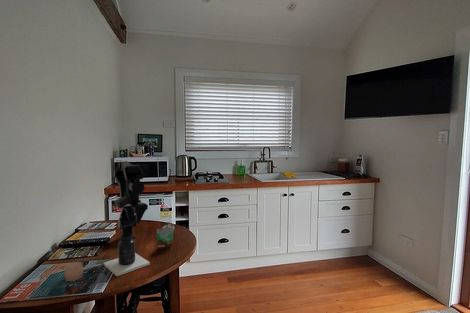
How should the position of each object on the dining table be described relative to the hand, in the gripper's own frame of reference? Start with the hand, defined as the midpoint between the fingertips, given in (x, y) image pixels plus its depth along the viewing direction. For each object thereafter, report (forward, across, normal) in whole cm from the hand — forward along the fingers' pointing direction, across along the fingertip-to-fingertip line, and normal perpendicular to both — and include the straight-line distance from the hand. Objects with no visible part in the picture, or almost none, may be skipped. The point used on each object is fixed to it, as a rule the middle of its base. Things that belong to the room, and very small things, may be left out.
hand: (133, 221), depth 134 cm
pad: (+13, +16, -11) cm, 23 cm away
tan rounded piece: (+13, +12, -30) cm, 35 cm away
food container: (+13, +10, +13) cm, 21 cm away
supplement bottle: (+12, +16, -11) cm, 23 cm away
